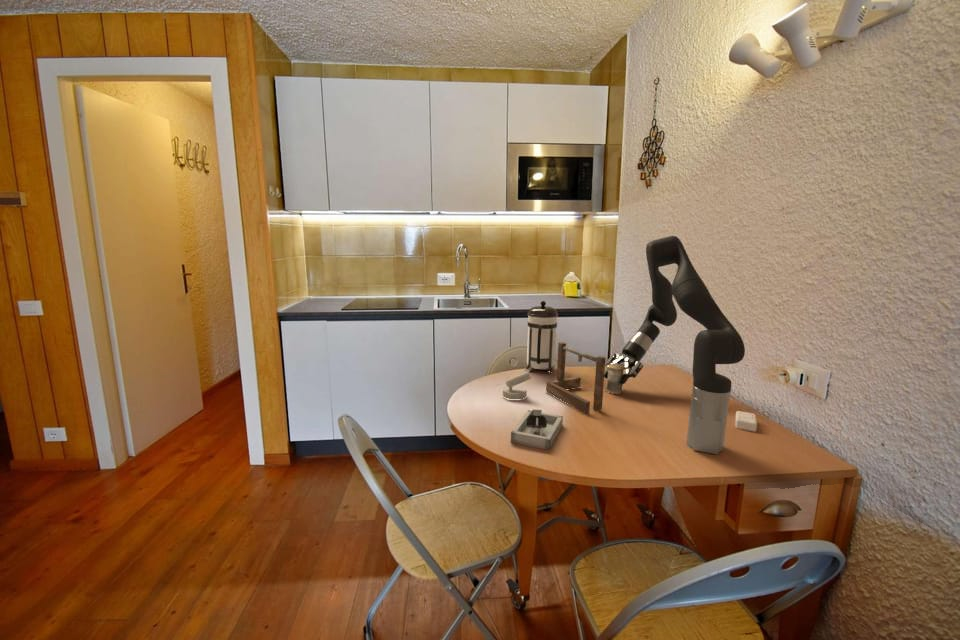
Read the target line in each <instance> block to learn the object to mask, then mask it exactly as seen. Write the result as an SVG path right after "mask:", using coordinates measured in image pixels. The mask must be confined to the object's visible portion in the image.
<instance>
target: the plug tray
mask: <svg viewBox="0 0 960 640" xmlns="http://www.w3.org/2000/svg"><path fill="white" fill-rule="evenodd" d="M531 415H533V413H532V410H527V411H526V413H525V414H524V415H523V416H522V418H520V419H519V422H518V423H517V424H516V425H515V427H514V428H513V429H512V431H510V443H514V444H519V445H523V446H529V447H532V448H533V447H534V448H539V449H543V450H544V449H545V450H550V448H551V447H552V445H553V444H554V441H555V439H556V438H557V436H558V434H559V432H560V430H561V429H562V427H563V420H564V419H563V417H564V416H563V415H558V414H553V413H546V412H541V415H542V416H544V417H546V420H547V427H545V428H542V436H540V429H537V428H534V430H533V434H531V428H529V427H528V426H527V419H528V416H531Z"/></svg>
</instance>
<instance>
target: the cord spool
mask: <svg viewBox="0 0 960 640" xmlns="http://www.w3.org/2000/svg"><path fill="white" fill-rule="evenodd" d="M607 368H608V378H607V383H606V387H605V388H606V389H605V392H606V391H607V392H606V393H608V392H609V393H608V394H610V393H613V394H612V395H621V393H622V394H623V385H621V384H620V383H619V382H618V381H619V380H620V378H621V377H622V376H623V374H624V371H625V369H624V366H621V365H619V364H617V363H616V364H610V363H609V365H608V367H607Z"/></svg>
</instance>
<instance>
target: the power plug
mask: <svg viewBox="0 0 960 640" xmlns="http://www.w3.org/2000/svg"><path fill="white" fill-rule="evenodd" d="M531 411H532V413H533V415H531V416H528V419H527V426H528V427H529V428H531V434H533V430H534V428H537V429H540V436H542V428H545V427H547V420H546V417H544V416H542V415H541V413H543V412H542V411H543V409H532V410H531Z"/></svg>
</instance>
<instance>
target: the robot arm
mask: <svg viewBox="0 0 960 640" xmlns="http://www.w3.org/2000/svg"><path fill="white" fill-rule="evenodd" d="M645 247H646V248H645V255H646V262H647V266H648V267H647V268H648V273H649V279H650V283H651V302H652V304H651V305H649V307H648V310H647V313H646V314H645V315H646V316H645V318H644V319H643V322H642V324H641V325H640V327H639V328H638V330H637V331H636V332H635V333H634V334H633V335H632V336H631V338H630V339H629V340H628V342H627V343H626V344H625V345H624V347H623V348H622V351H621V353H620V354H617V353H616V352H613V353H612V354H611V355H610V357H609V358H608V359H607V361H605V367H607V368H605V373H604V379H607V380H608V365H609V364H619V365H621V366H624V373H623V376H622V377H621V378H620V380H619V381H618V382H619V383H620V384H621V385H622V386H623V385H624V384H626V382H627V381H628V380H629V378H632V379H634V378H636V377H637V376H638V375H639V373H640V372H641V370H642V368H644V364H643V363H642V362H641V360H642V359H643V358H644V356H645V355H646V354H647V352H648V351H649V350H650V348H651V347H652V345H653V343H654V342H655V340H656V339H658V336H659V335H660V334H661V330H660V328H659V327H658V326H657V325H656V324H654V322H655V323H657V324H659V325H663V326H664V327H671V326H672V325H674V324H675V323H676V321H677V319H678V312H677V311H678V310H677V309H676V308H677V307H676V305H675V303H674V300H675V301H676V304H677V306H678V307H679V309H680V310H681V311H682V312H683V313H685V315H687V316H688V317H690V318H691V319H692V320H695V322H697V323H699V324H700V325H702V326H703V327H704V328H705V329H706V330H705V329H704V330H701V331H699V332H698V333H697V335H696V337H695V340H694V343H693V356H692V357H693V358H692V359H693V360H692V378H693V382H692V383H693V384H692V389H691V390H692V391H691V399H690V406H689V414H688V415H689V416H688V424H687V425H688V426H687V432H686V433H687V435H686V444H687V445H688V446H689V448H692V450H693V451H697V452H702V453H707V454H713V455H719V454H720V453H721V452H723V450H724V443H725V435H726V428H727V422H728V421H727V420H728V414H729V413H728V412H729V407H730V406H729V405H730V399H731V394H732V393H731V390H732V381H731V379H730V378H729V377H727V376H726V375H723V374H720V373H718V372H716V370H717V369H716V365H733V364H734V365H735V364H738V363H740V362H741V361H743V359H744V357H745V354H746V353H745V352H746V348H745V344H744V341H743V338H742V337H741V335H740V333H739V332H738V329H736V328H735V327H734V325H733V324H732V323H731V321H729V319H728V318H727V317H726V315H725V314H724V313H723V312H722V310H721V309H720V307H719V305H718V304H717V303H716V301H715V300H714V298H713V296H712V294H711V293H710V291H709V289H708V287H707V286H706V284H705V282H704V281H703V279H702V277H701V276H700V275H699V274H698V272H697V271H696V269H695V267H694V265H693V264H692V262H691V260H690V257H689V256H688V252H687V251H686V249H685V246H684V244H683V243H682V241H681V240H680V238H679V237H678V236H676V235H670V236H665V237H662V238H658V239H654V240H653V239H652V240H651V241H649V242H648V243H647V244H646V245H645ZM672 264H675V265H676V266H677V270H676V273H675V276H674V278H673V281H672V282H670V280H669V279H668V278H667V277H665V275H664V274H663V273H661V271H660V269H659V268H661V267H665V266H669V265H672ZM673 298H674V299H673Z"/></svg>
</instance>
